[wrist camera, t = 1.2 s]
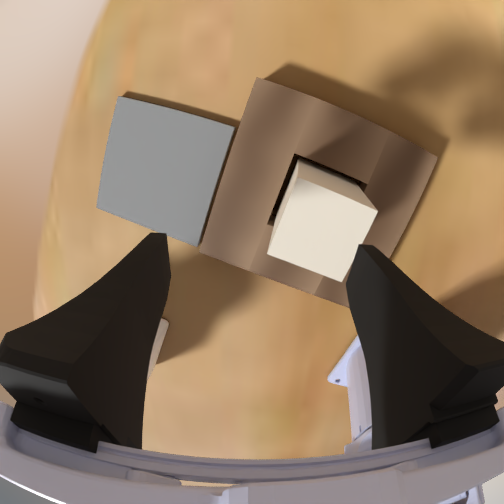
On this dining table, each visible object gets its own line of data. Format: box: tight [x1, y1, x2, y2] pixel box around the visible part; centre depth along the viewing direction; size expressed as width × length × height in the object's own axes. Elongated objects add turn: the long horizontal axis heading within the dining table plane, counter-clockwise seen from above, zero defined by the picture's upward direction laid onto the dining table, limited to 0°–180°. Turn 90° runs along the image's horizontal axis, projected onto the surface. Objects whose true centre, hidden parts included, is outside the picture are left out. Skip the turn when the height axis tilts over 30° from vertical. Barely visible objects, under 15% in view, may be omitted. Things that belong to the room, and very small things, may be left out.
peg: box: [267, 158, 378, 282], centre depth 17 cm, size 4×4×7 cm
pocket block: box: [199, 77, 438, 308], centre depth 20 cm, size 12×12×2 cm
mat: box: [96, 96, 236, 247], centre depth 21 cm, size 9×9×1 cm
